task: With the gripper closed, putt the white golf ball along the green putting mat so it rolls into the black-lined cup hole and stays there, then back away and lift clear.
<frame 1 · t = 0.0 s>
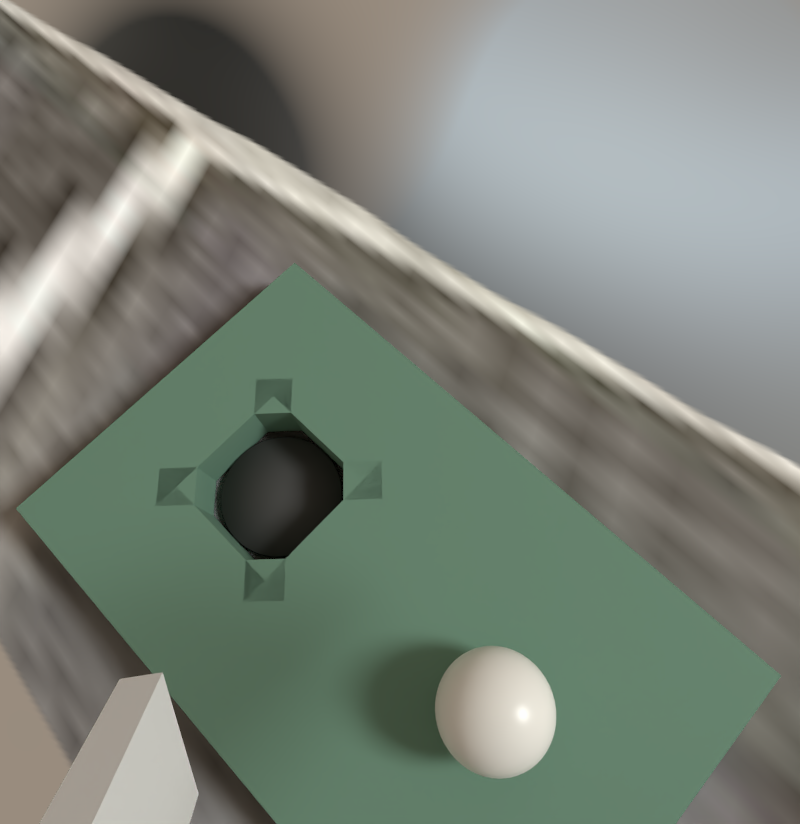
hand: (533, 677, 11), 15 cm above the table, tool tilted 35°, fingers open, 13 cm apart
golf ball: (494, 709, 21), point 4 cm above the table, touching putting mat
putting mat: (377, 590, 27), on the table
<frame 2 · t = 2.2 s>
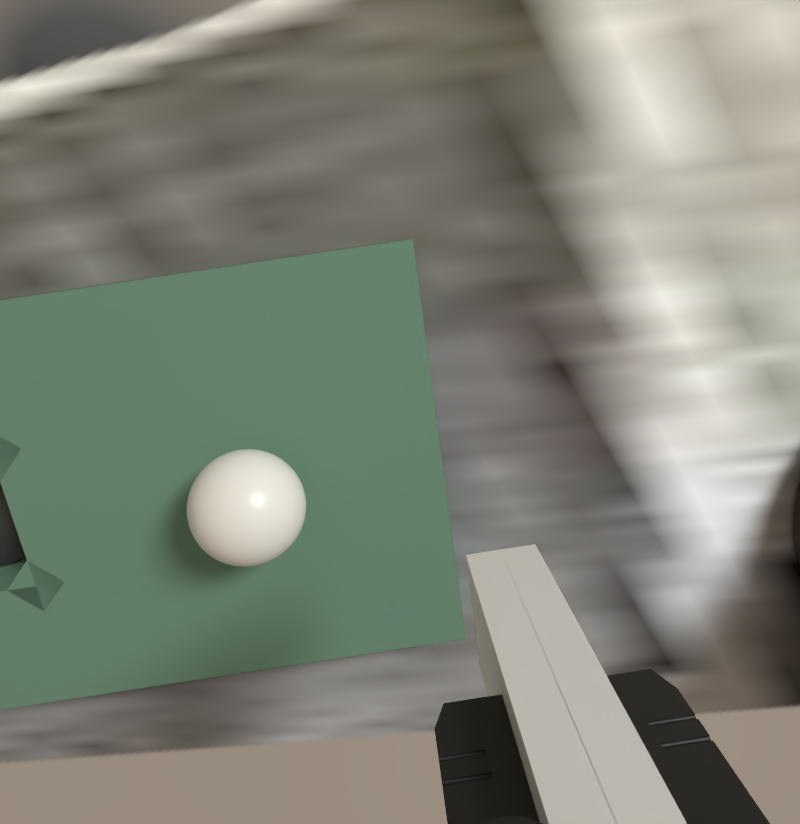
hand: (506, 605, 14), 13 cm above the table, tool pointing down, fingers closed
golf ball: (247, 506, 22), point 4 cm above the table, touching putting mat
putting mat: (124, 483, 26), on the table
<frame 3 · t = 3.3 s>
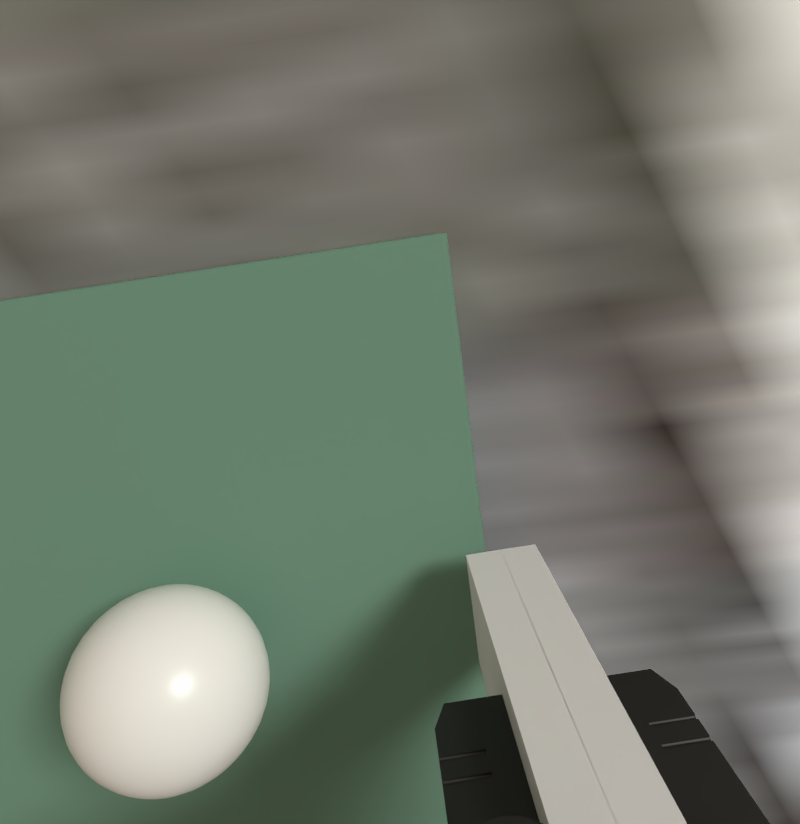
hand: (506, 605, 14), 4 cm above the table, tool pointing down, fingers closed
golf ball: (170, 684, 13), point 4 cm above the table, touching putting mat
putting mat: (3, 606, 17), on the table
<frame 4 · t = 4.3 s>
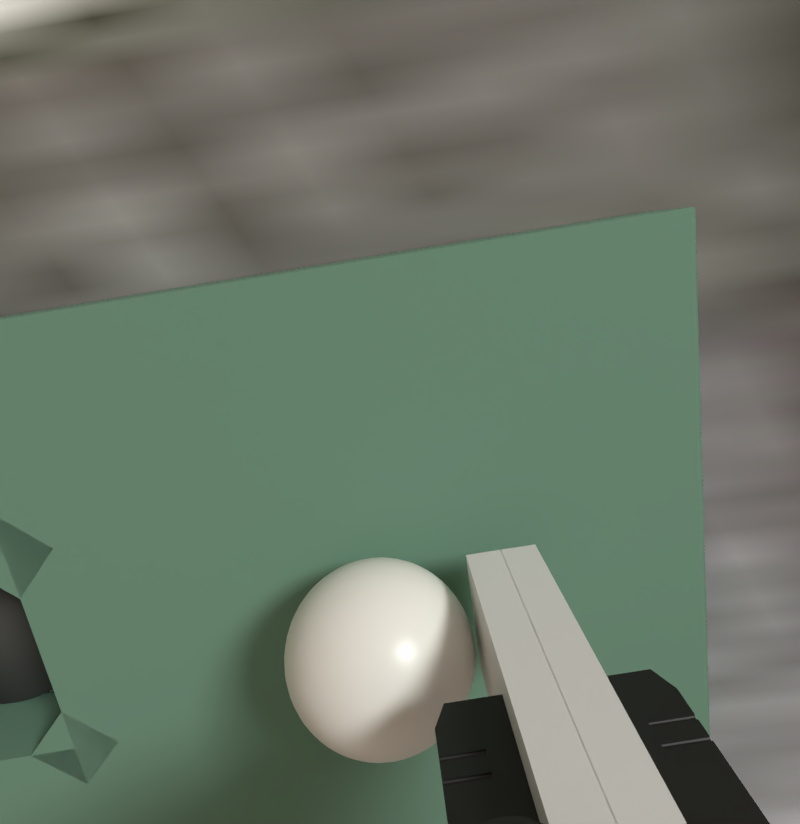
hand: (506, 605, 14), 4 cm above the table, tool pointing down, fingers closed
golf ball: (380, 654, 13), point 4 cm above the table, tilted 25°, touching putting mat
putting mat: (201, 581, 18), on the table
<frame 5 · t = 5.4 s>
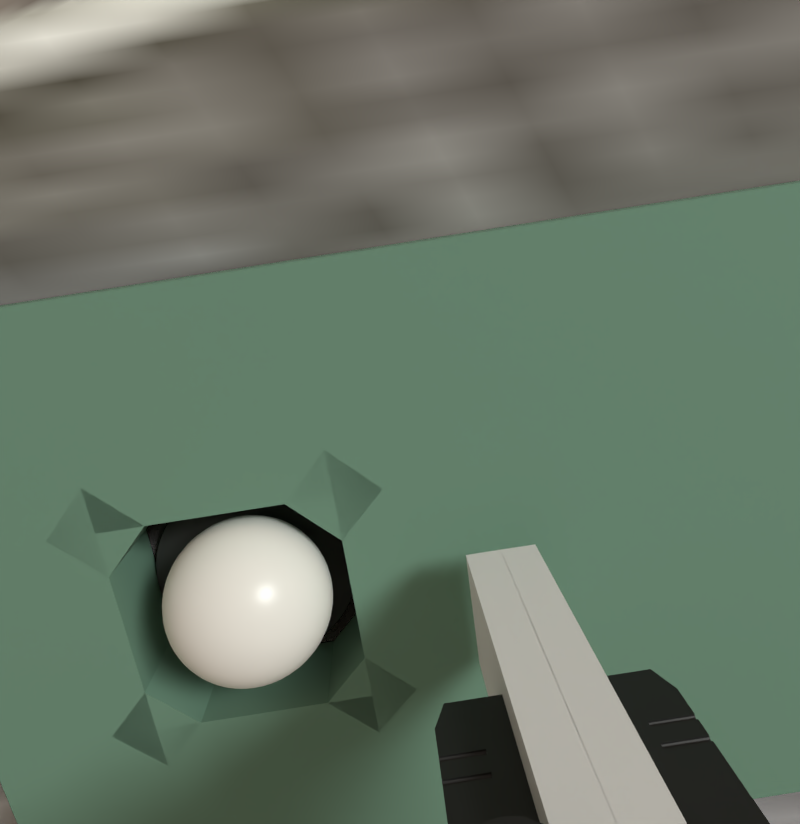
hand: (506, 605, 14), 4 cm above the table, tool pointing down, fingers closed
golf ball: (250, 598, 15), point 2 cm above the table, tilted 9°, touching putting mat
putting mat: (471, 532, 17), on the table
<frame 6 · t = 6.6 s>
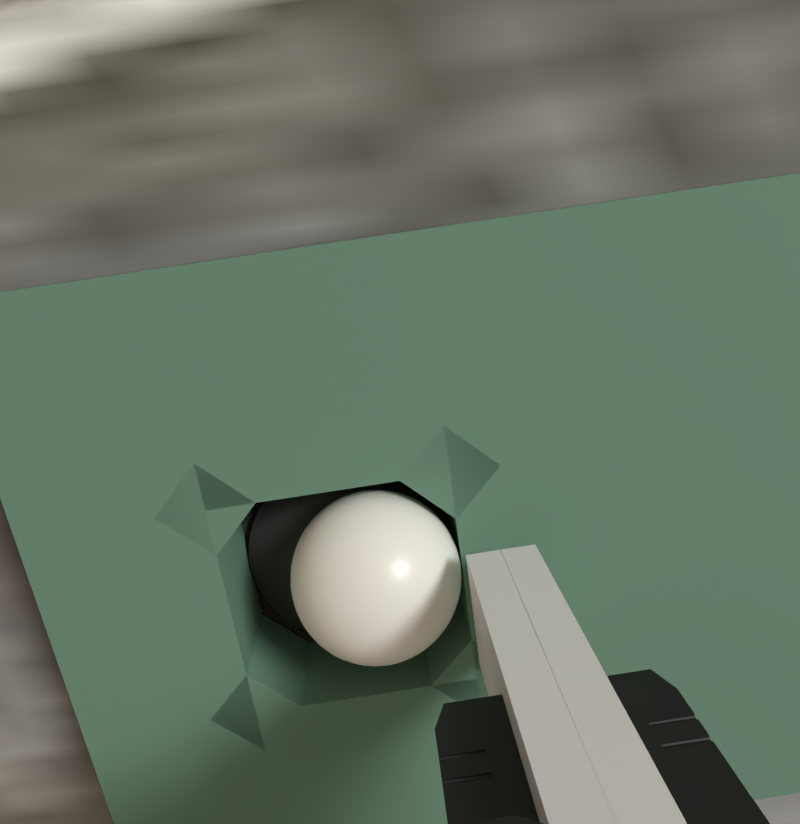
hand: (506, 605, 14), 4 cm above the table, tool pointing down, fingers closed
golf ball: (376, 574, 15), point 2 cm above the table, tilted 18°, touching putting mat
putting mat: (567, 514, 17), on the table
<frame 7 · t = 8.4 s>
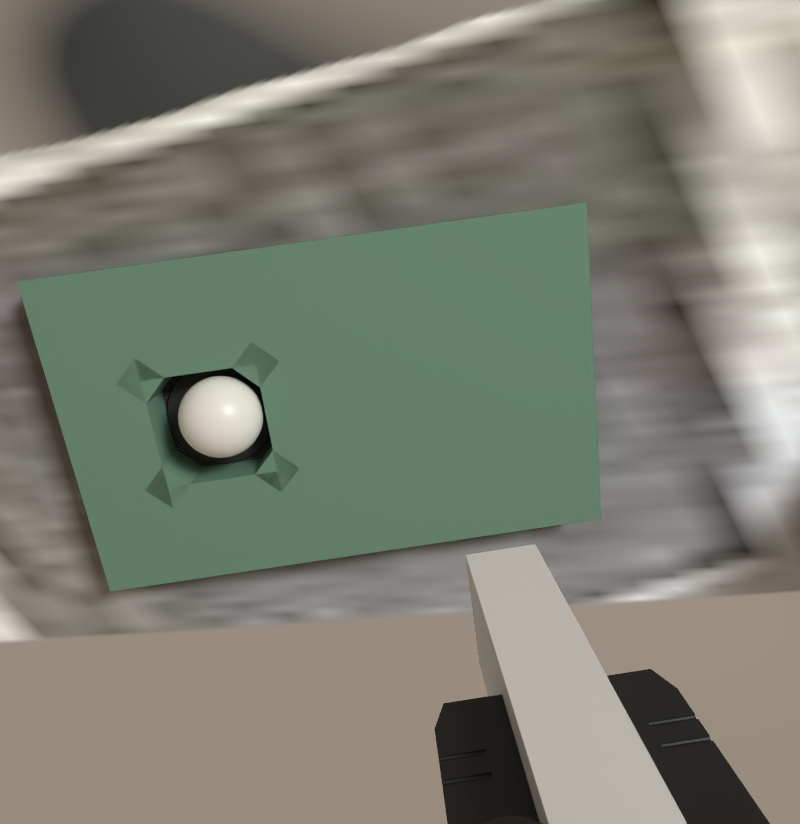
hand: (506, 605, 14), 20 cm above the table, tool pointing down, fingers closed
golf ball: (221, 416, 31), point 2 cm above the table, tilted 13°, touching putting mat
putting mat: (334, 396, 33), on the table
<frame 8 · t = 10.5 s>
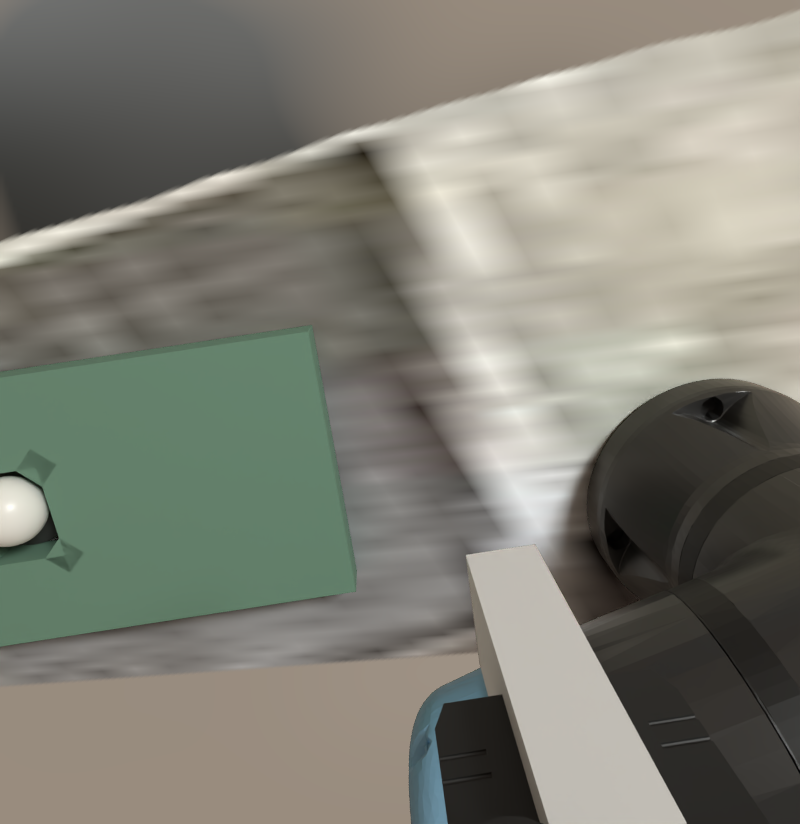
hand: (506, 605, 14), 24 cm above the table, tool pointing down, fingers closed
golf ball: (9, 511, 36), point 2 cm above the table, tilted 8°, touching putting mat
putting mat: (123, 487, 38), on the table
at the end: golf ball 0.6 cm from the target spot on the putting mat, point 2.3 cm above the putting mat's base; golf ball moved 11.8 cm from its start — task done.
